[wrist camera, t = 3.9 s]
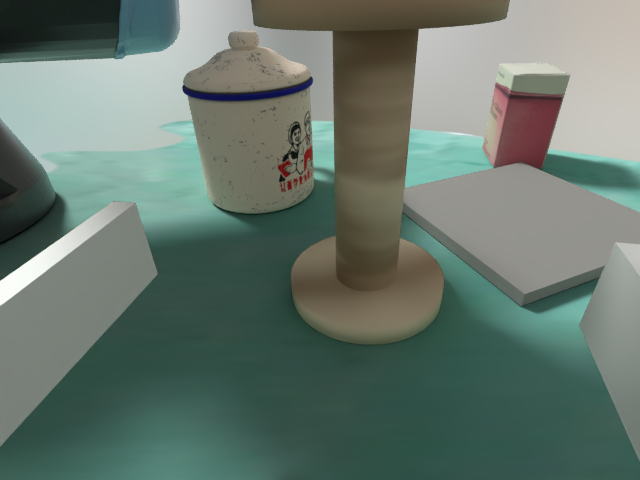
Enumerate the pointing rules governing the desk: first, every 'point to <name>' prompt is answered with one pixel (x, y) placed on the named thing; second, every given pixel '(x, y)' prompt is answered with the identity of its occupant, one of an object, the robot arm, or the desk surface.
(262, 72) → the teacup with lid
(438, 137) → the desk surface
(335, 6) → the stool
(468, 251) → the mat
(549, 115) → the small box
